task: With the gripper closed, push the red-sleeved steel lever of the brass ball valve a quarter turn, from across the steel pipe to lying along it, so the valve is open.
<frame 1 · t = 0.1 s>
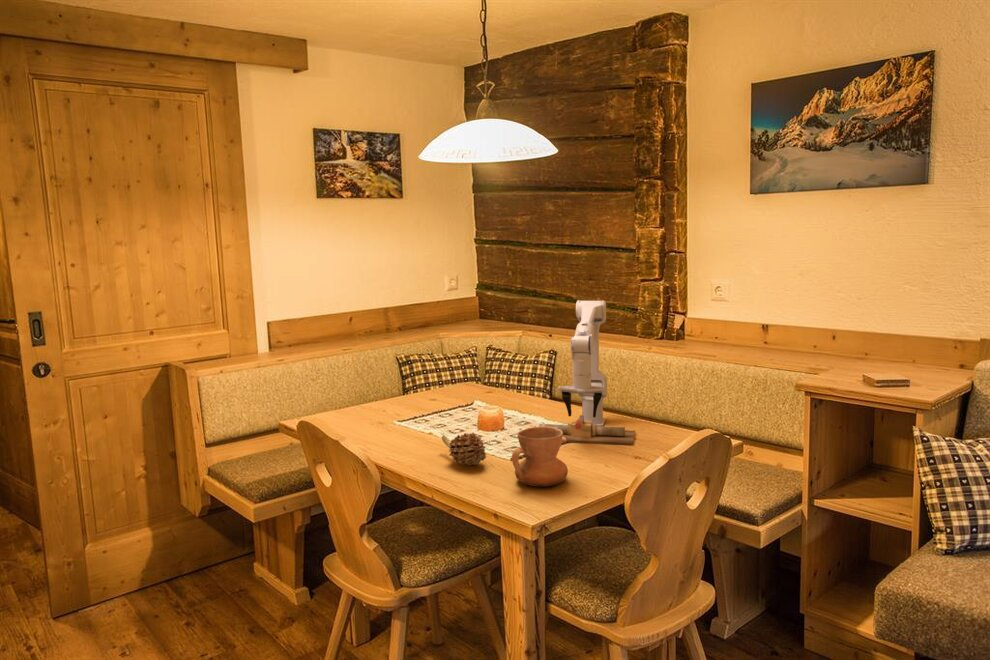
hand: (582, 416, 232), 10 cm above the table, tool pointing down, fingers open, 7 cm apart
ceramic jug: (539, 482, 203), on the table
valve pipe: (581, 436, 244), on the table
valve lever: (580, 422, 239), point 6 cm above the table, hinge at 0.0°
pine cone: (460, 462, 222), on the table
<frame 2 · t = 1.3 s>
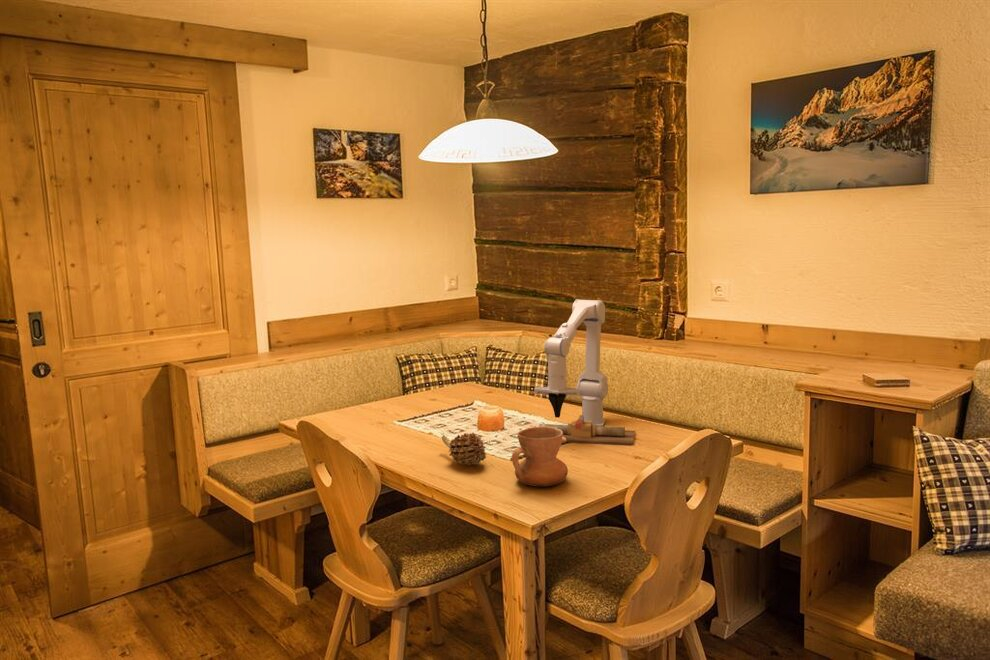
hand: (557, 416, 237), 9 cm above the table, tool pointing down, fingers closed
nothing on the table moved.
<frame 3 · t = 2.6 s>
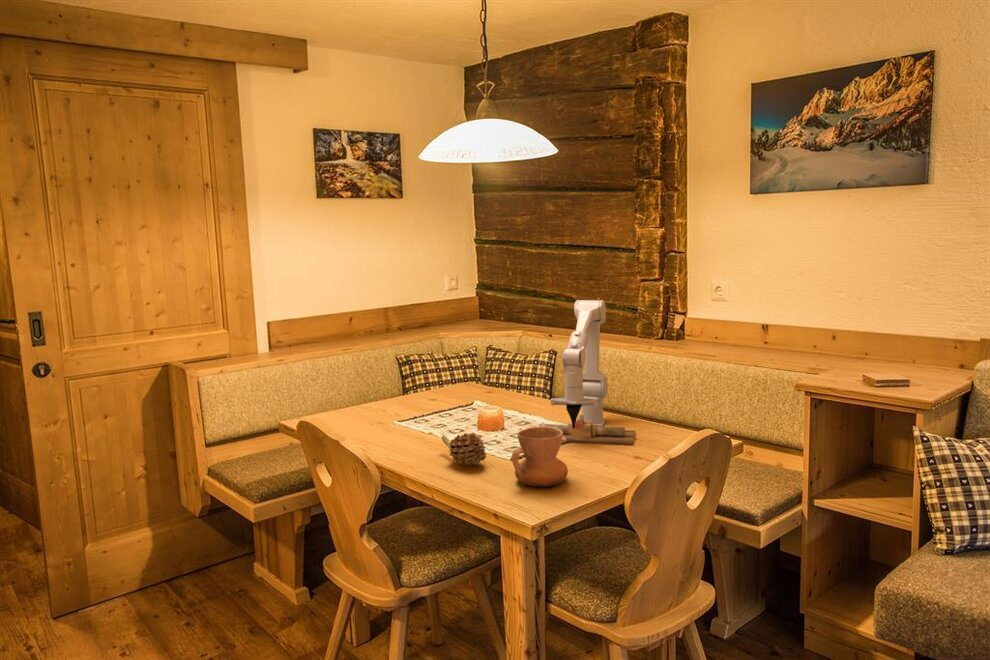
hand: (574, 427, 236), 5 cm above the table, tool pointing down, fingers closed, pressing on valve lever
valve lever: (580, 422, 239), point 6 cm above the table, hinge at 0.4°, touching gripper
everything else where it was.
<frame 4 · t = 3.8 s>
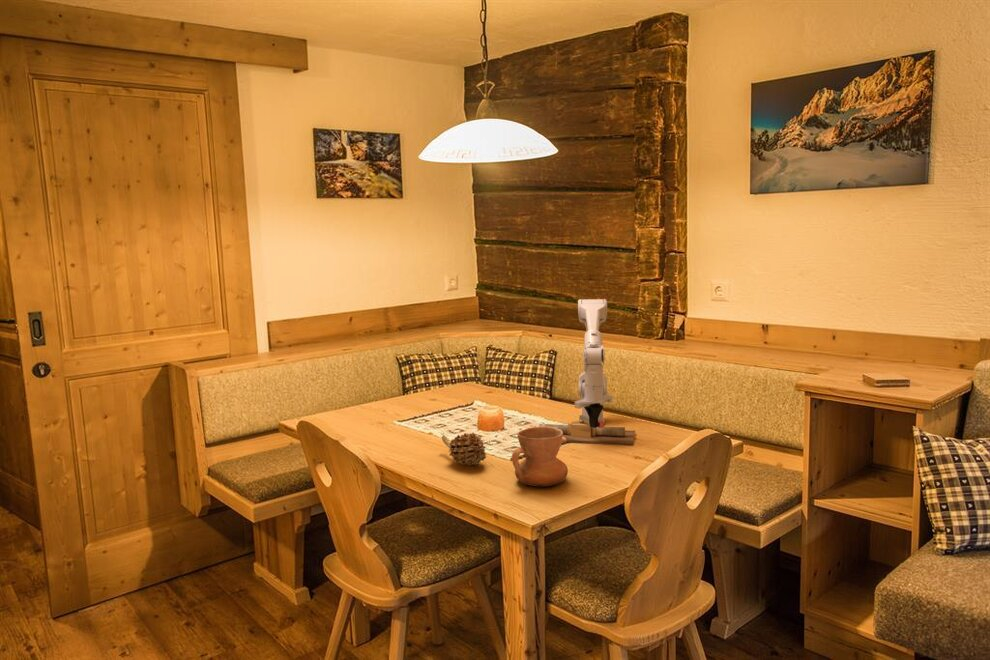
hand: (593, 426, 236), 6 cm above the table, tool pointing down, fingers closed, pressing on valve lever
valve lever: (590, 421, 239), point 6 cm above the table, hinge at 43.6°, touching gripper
everything else where it was.
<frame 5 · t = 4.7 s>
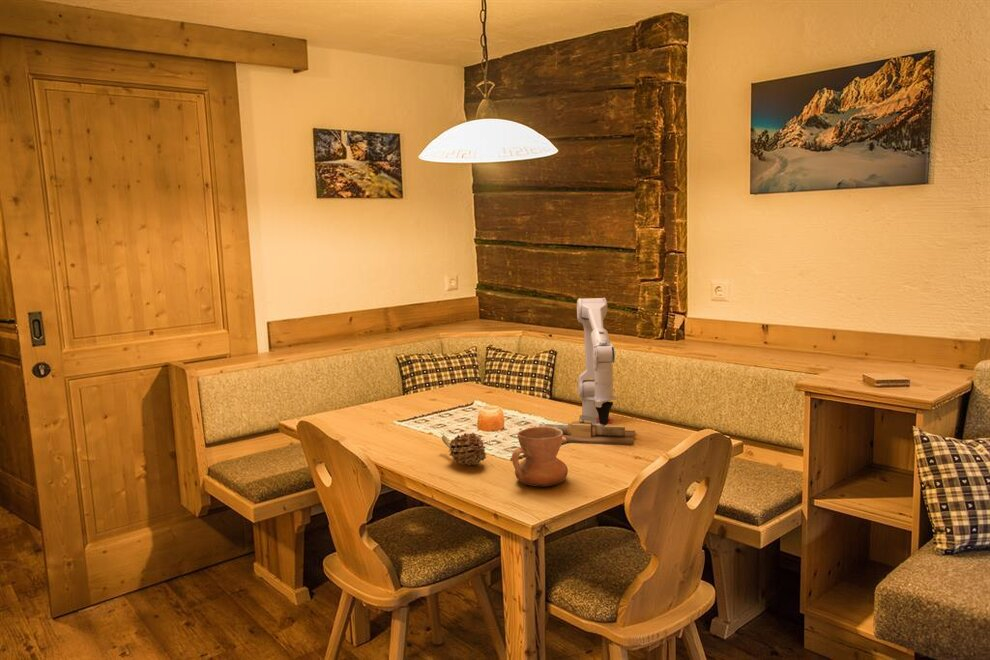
hand: (603, 424, 239), 6 cm above the table, tool pointing down, fingers closed, pressing on valve lever
valve lever: (595, 419, 241), point 6 cm above the table, hinge at 75.2°, touching gripper
everything else where it was.
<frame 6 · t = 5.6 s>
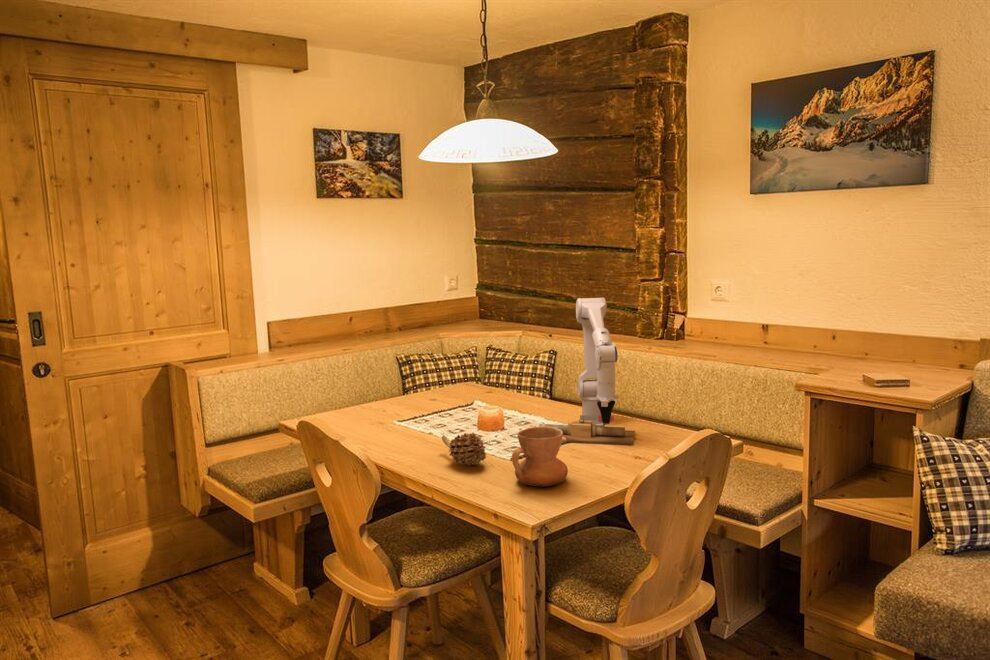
hand: (606, 423, 240), 5 cm above the table, tool pointing down, fingers closed
valve lever: (596, 418, 242), point 6 cm above the table, hinge at 90.3°, touching gripper
everything else where it was.
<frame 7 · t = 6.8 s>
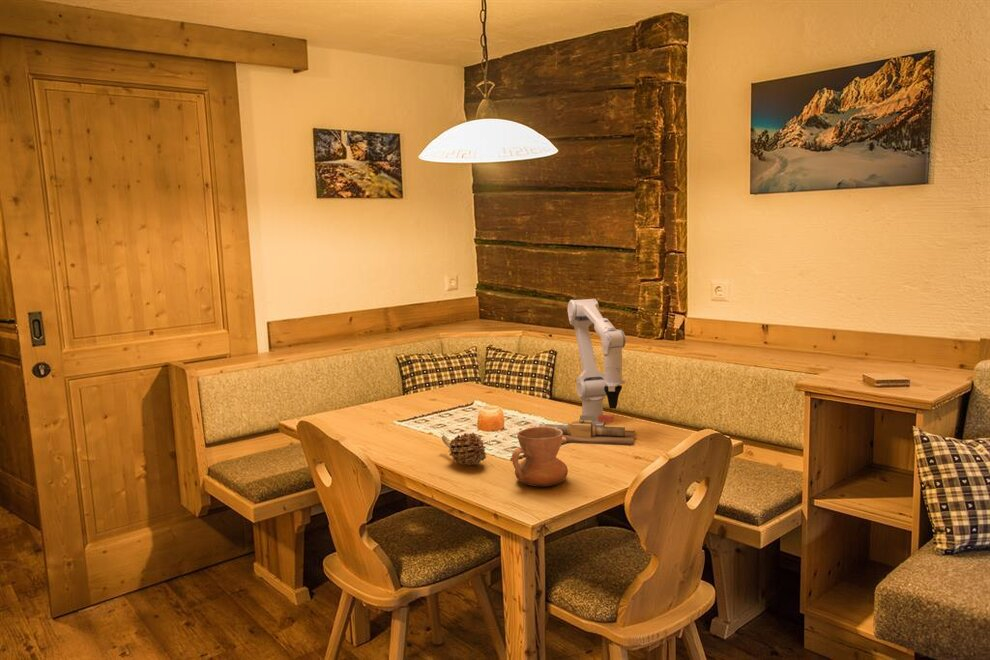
hand: (613, 408, 244), 9 cm above the table, tool pointing down, fingers closed
valve lever: (596, 418, 242), point 6 cm above the table, hinge at 90.4°
everything else where it was.
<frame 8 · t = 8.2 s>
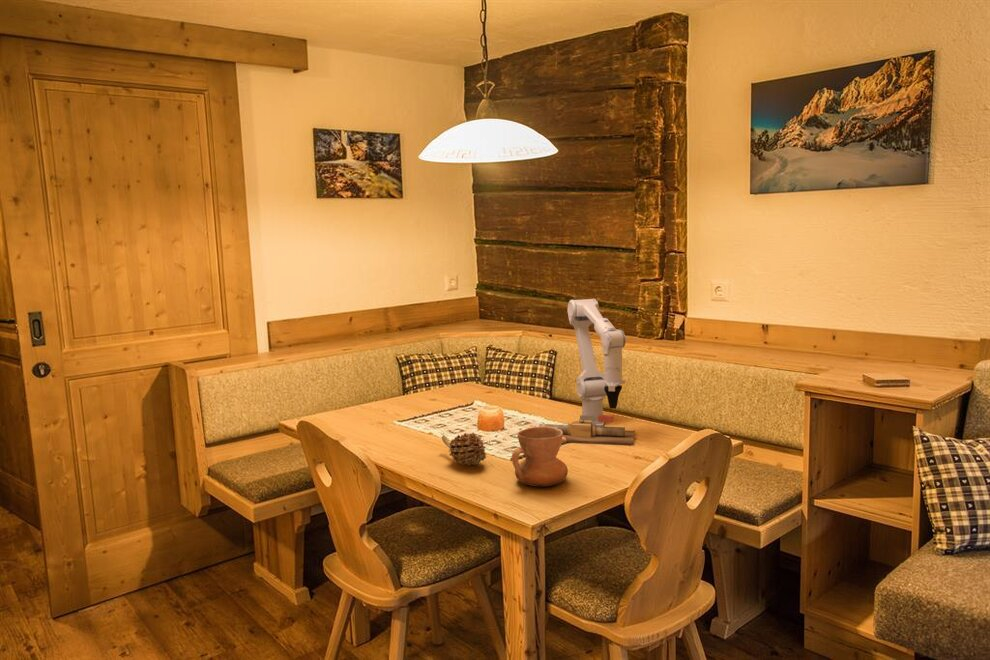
hand: (613, 407, 244), 9 cm above the table, tool pointing down, fingers closed
nothing on the table moved.
at the end: valve lever at +90° (first picture: +0°) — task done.
